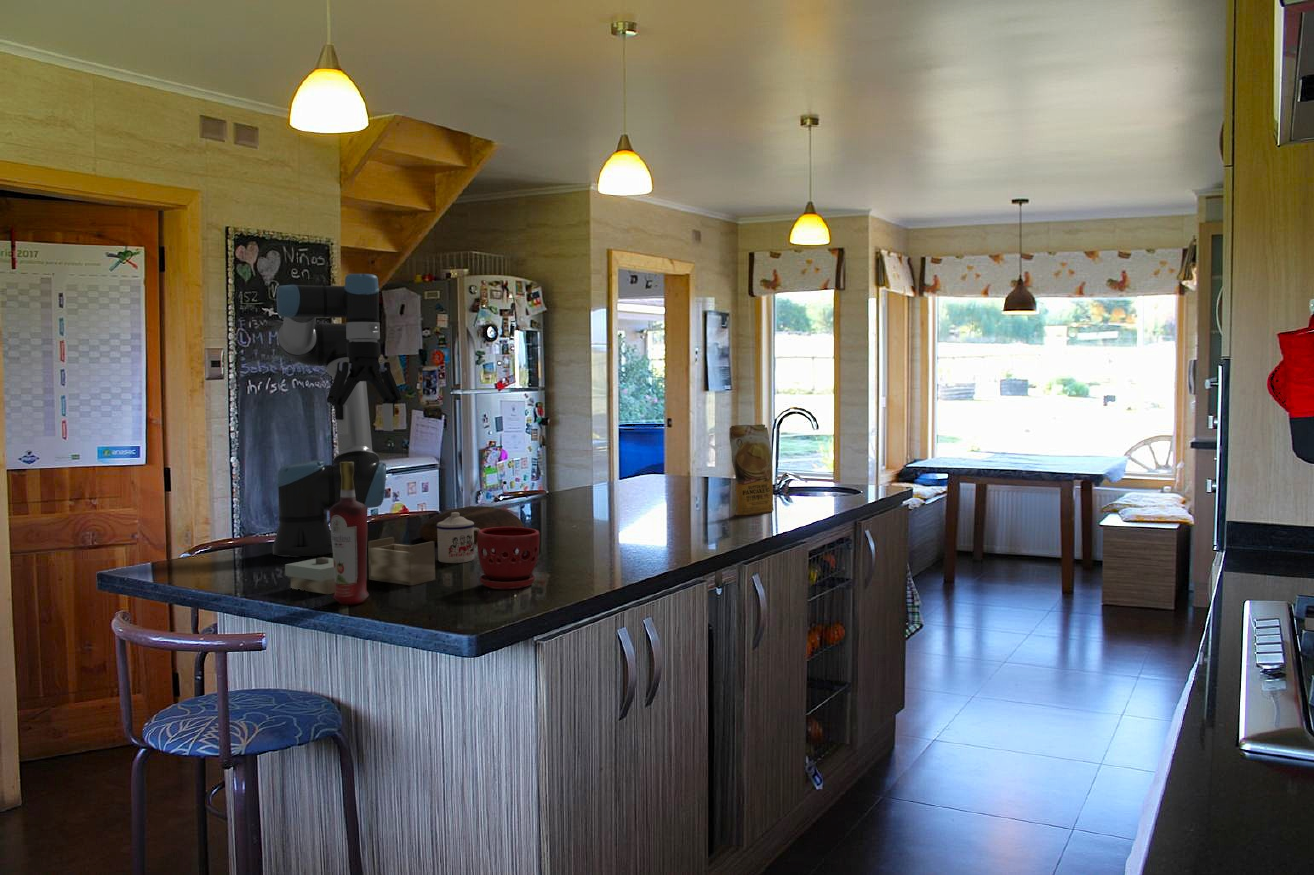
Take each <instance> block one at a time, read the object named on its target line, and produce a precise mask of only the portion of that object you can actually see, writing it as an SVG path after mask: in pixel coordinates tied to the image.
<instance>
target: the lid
mask: <svg viewBox="0 0 1314 875" xmlns="http://www.w3.org/2000/svg"><path fill="white" fill-rule="evenodd" d="M284 567H285V568H284V571H285V572H284V573H285V576H286V577H297V578H304V579H310V580H317V581H324V580H329V579H333V578H335V577H334V562H333V557H326V556H325V557H324V556H322V557H317V558H311V559H307V560H302V561H298V562H297V561H296V562H292V563H287V564H284Z"/></svg>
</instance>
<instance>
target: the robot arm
mask: <svg viewBox="0 0 1314 875" xmlns="http://www.w3.org/2000/svg"><path fill="white" fill-rule="evenodd" d="M379 291H380V288H379V278H378V276H377V275H375V274H372V273H349V274H347V275H345V277H344V285H305V284H300V285H299V284H286V285H285V284H284V285H279V286H278V287H277V288H276V313H277V315H278V316H279V317H280V318H283V322H282V323H283V324H282V325H281V326H280V328H279V330H278V333H277V343H278V346H279V348H280V349H281V351H282V353H284V355H286V356H287V357H289V358H290V359H292V360H293V361H295V362H297V363H299V364H302V365H305V366H310V367H325V369H326V373H327V374H328V376H330V377H332V384H331V387H330V389H329V393H328V396H327V398H326V402H327V403H328V404H330V405H331V406H334V418H335V423H336V436H337V437H336V438H337V448H338V449H337V450H338V454H336V455H335V457H334V458H333V460H332V464H327V462H326V460H325V459H315V460H314V459H313V460H311V459H310V460H306V461H299V462H294V463H290V464H285V465H283V466H281V467H280V469H278V472H277V485H276V488H278V489H277V490H278V491H277V493H278V528H277V532H276V534H275V539H274V542H273V544H272V555H273V554H275V555H290V556H312V557H318V556H317V555H320V556H324V555H325V556H326V555H329V554H333V550H332V540H331V529H330V526H329V525H330V524H329V522H328V512H329V509H330V508H331V507H332V506H333V505H334V504H336V503H338V502H340V496H341V473H340V462H354V475H353V481H354V489H355V497H356V501H358V502H360V503H363V504H364V505H365V506H366V507H367V509H370V508H379V507H380V506H381V505H382V504H383V502H384V497H385V493H386V492H385V490H386V480H387V464H386V463H385V462H383V461H380V457H379V454H377V453H376V452H375V451H373V445H372V444H373V443H372V432H371V422H370V419H371V418H370V409H369V399H368V398H369V397H368V388H367V386H368V385H367V382H370V383H372V385H373V386H374V388H375V389H376V391H377V392H378V394H379V395H380V397H381V399H383V402H384V403H382V404H381V405H382V430H383V432H394V417H395V412H396V411H395V409H396V408H395V407H396V406H395V404H398V402H399V401H401V400H402V395H401V393H400V390H399V388H398V386H397V383H396V381H395V378H394V376H393V374H392V369H391V364H390V362H389V361H380V362H379V360H380V359H379V358H381V343H380V342H379V341H378V340H380V339H381V332H380V331H381V330H380V328H381V327H380V325H381V324H380V305H379V304H380V297H379V296H380V294H379V293H380V292H379ZM317 318H323V319H324V318H338V319H339V318H341V319H344V318H345V323H335V322H333V323H330V322H329V323H325V322H324V323H323V322H321V323H319V322H318V323H316V320H317Z"/></svg>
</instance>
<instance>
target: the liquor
mask: <svg viewBox="0 0 1314 875" xmlns="http://www.w3.org/2000/svg"><path fill="white" fill-rule="evenodd" d="M340 473H341V496H340V502H338V503H336V504H334V505H333V506H332V507H331V508H330V509H329V510H328V512H329V523H330V524H329V525H330V526H329V528H330V530H331V540H332V550H333V553H332V558H333V562H334V577H335V593H333V596H332V598H333V599H335V601H337V602H338V603H339V604H340V605H344V606H347V605H348V606H349V605H351V606H352V605H353V606H354V605H358V604H362V603H364V601H365V600H366V599H367V598H368V597H369V596H370V594H369V592H368V590H367V551H368V550H367V548H368V508H367V507H366V506H365V505H364V504H363V503H360V502H358V501H356V497H355V489H354V481H353V475H354V462H340Z"/></svg>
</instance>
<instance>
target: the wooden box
mask: <svg viewBox="0 0 1314 875" xmlns="http://www.w3.org/2000/svg"><path fill="white" fill-rule="evenodd" d="M367 548H368V550H367V551H368V554H367V555H368V579H369V580H370V581H371V580H372V581H376V582H377V581H378V582H384V583H391V584H397V585H398V584H399V585H405V586H415V585H420V584H423V583H428V582H429V583H430V582H432V581H436V560H435V559H436V556H435V555H436V554H435V542H434V541H432V542H431V541H427V542H422V543H418V544H411V545H408V544H402V543H401V544H399V543H395V537H394V536H389V537H386V538H385V537H384V538H379V539H375V540H369V541H368V540H367Z"/></svg>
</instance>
